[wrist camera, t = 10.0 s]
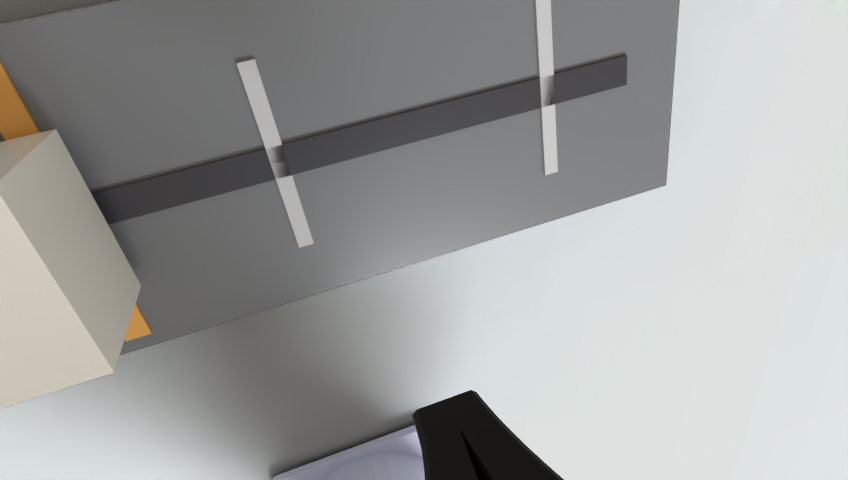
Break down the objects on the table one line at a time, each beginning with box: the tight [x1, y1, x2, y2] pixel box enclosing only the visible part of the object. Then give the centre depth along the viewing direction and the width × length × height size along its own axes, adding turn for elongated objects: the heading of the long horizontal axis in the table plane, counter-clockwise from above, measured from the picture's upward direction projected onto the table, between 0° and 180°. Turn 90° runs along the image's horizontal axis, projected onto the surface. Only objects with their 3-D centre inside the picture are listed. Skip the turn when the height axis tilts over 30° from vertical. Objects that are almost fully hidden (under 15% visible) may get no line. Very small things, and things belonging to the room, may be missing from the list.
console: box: [0, 0, 680, 355], centre depth 17 cm, size 10×28×2 cm, turn 99°
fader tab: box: [0, 129, 141, 409], centre depth 13 cm, size 5×3×4 cm, turn 9°
